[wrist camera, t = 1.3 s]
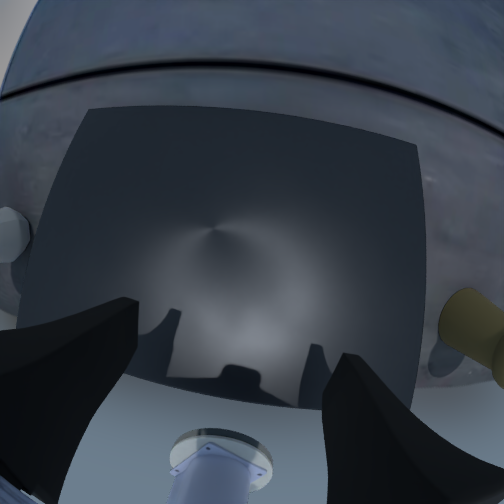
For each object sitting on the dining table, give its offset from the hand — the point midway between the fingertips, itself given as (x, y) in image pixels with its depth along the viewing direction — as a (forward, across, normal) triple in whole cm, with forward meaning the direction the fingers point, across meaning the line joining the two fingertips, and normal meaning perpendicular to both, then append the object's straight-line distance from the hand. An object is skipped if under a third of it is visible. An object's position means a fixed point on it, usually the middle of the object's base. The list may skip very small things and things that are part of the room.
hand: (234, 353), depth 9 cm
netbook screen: (+8, +3, -1) cm, 9 cm away
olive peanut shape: (+13, -21, +2) cm, 25 cm away
